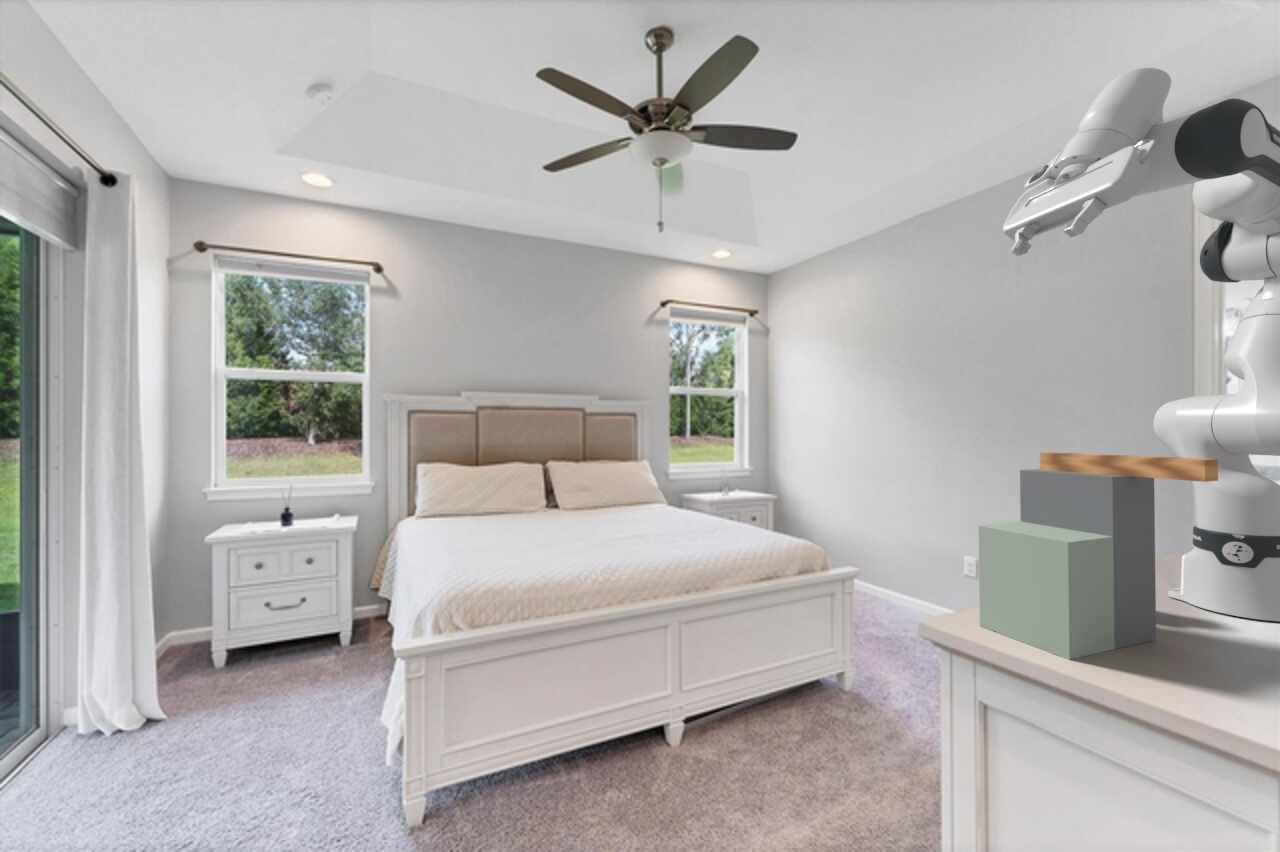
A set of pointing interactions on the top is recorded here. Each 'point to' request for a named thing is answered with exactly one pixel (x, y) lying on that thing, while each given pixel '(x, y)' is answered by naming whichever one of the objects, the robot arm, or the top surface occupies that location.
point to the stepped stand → (1073, 564)
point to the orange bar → (1132, 466)
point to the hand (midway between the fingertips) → (1043, 243)
